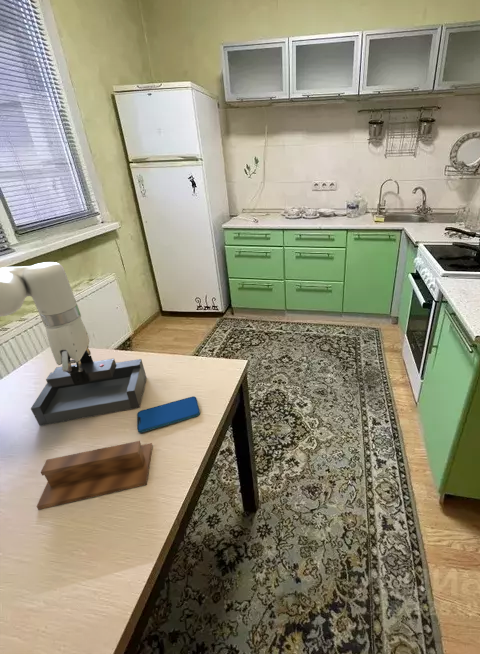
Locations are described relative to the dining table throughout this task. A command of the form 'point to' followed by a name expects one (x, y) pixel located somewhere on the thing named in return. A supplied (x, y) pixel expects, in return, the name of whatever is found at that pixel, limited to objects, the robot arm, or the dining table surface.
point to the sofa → (92, 396)
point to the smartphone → (167, 414)
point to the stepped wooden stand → (95, 473)
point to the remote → (92, 370)
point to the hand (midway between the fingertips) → (85, 375)
